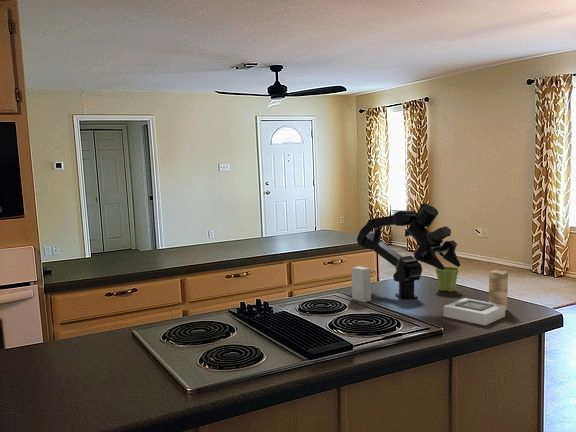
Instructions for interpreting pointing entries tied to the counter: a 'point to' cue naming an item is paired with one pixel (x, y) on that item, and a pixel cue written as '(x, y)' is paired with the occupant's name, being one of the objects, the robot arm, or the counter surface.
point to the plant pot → (447, 278)
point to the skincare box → (361, 283)
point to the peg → (498, 287)
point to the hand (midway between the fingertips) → (451, 267)
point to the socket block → (474, 311)
